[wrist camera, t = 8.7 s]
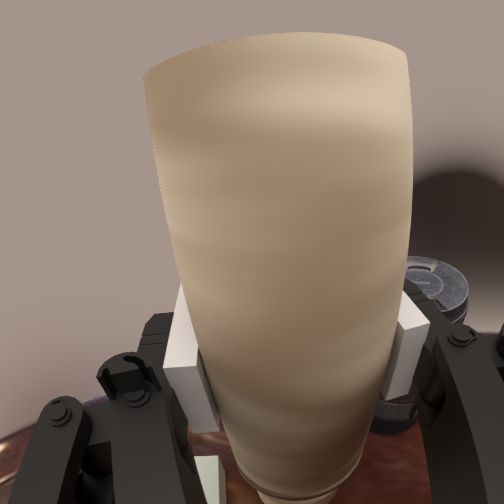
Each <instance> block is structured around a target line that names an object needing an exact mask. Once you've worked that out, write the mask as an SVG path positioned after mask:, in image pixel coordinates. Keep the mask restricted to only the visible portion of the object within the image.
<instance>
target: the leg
mask: <svg viewBox="0 0 504 504" xmlns="http://www.w3.org/2000/svg"><path fill="white" fill-rule="evenodd" d="M143 79H144V87H145V94H146V102H147V110H148V117H149V124H150V130H151V137H152V143H153V149H154V155H155V161H156V167H157V173H158V178H159V183H160V189H161V194H162V199H163V204H164V209H165V214H166V219H167V223H168V228H169V233H170V237H171V242H172V246H173V251H174V255H175V259H176V264H177V268H178V272H179V276H180V280H181V284H182V288H183V292H184V296H185V300H186V304H187V307H188V311H189V315H190V319H191V322H192V326H193V329H194V333H195V337H196V340H197V344H198V347H199V350H200V354H201V357H202V361H203V364H204V367H205V370H206V374H207V377H208V380H209V383H210V386H211V390H212V393H213V396H214V399H215V402H216V405H217V408H218V411H219V414H220V417H221V420H222V423H223V426H224V428H225V431H226V434H227V437H228V440H229V442H230V445H231V448H232V452H233V457H234V460H235V463H236V465H237V468H238V470H239V472H240V474H241V475H242V476H243V478H244V479H245V480H246V481H247V482H248V483H249V484H250V485H251V486H252V487H253V488H255V489H256V490H257V492H258V494H259V496H260V498H261V500H262V501H263V502H264V503H265V504H328V503H329V502H330V501H331V500H332V499H333V497H334V496H335V494H336V492H337V490H338V487H339V486H341V485H342V484H343V483H344V482H345V481H346V480H348V479H349V477H350V476H351V475H352V474H353V472H354V471H355V469H356V467H357V465H358V463H359V460H360V458H361V455H362V452H363V448H364V443H365V440H366V437H367V434H368V431H369V428H370V425H371V422H372V419H373V416H374V413H375V410H376V406H377V403H378V400H379V396H380V393H381V389H382V385H383V382H384V378H385V374H386V370H387V366H388V362H389V358H390V354H391V349H392V345H393V340H394V336H395V331H396V326H397V321H398V315H399V310H400V304H401V298H402V292H403V285H404V278H405V271H406V263H407V254H408V245H409V235H410V223H411V208H412V187H413V127H412V107H411V93H410V82H409V72H408V63H407V56H406V54H405V53H404V52H403V51H401V50H399V49H398V48H396V47H393V46H391V45H388V44H385V43H382V42H379V41H376V40H371V39H367V38H362V37H357V36H350V35H342V34H333V33H313V32H296V33H275V34H264V35H255V36H248V37H243V38H236V39H231V40H226V41H221V42H217V43H213V44H209V45H205V46H202V47H198V48H195V49H192V50H189V51H186V52H183V53H181V54H178V55H176V56H174V57H171V58H169V59H167V60H165V61H163V62H161V63H159V64H157V65H156V66H154V67H153V68H151V69H150V70H149V71H148V72H147V73H146V74H145V75H144V78H143Z"/></svg>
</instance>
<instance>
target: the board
mask: <svg viewBox="0 0 504 504" xmlns="http://www.w3.org/2000/svg"><path fill="white" fill-rule="evenodd" d="M194 458H195V462H196V466H197V470H198V473H199V477H200V480H201V484H202V487H203V490H204V494H205V497H206V500H207V503H208V504H227V502H226V480H225V471H224V468H223V466H222V464H221V462H220V459H219V457H218V456H194Z"/></svg>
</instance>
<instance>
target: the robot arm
mask: <svg viewBox="0 0 504 504" xmlns="http://www.w3.org/2000/svg"><path fill="white" fill-rule="evenodd" d="M96 378H97V379H98V381H99V383H100V384H101V386H102V387H103V389H104V391H105V393H106V394H107V396H108V397H109V399H110V400H108V401H105V402H102V403H98V404H93V405H89V406H85V407H83V406H82V404H81V403H80V402H79V401H78V400H77V399H76V398H73V397H70V396H63V397H58V398H56V399H53V400H52V401H50V402H49V403H48V404H47V405H46V406H45V407H44V409H43V410H42V412H41V414H40V416H39V418H38V421H37V423H36V426H35V428H34V430H33V433H32V435H31V438H30V441H29V443H28V446H27V448H26V451H25V454H24V456H23V459H22V462H21V465H20V468H19V471H18V474H17V477H16V480H15V483H14V486H13V489H12V492H11V496H10V499H9V502H8V504H208V503H207V500H206V497H205V494H204V490H203V487H202V484H201V480H200V477H199V473H198V470H197V466H196V462H195V458H194V455H193V451H192V447H191V445H190V443H189V441H188V439H187V430H188V425H189V427H190V429H191V431H192V433H202V432H218V431H219V411H218V408H217V405H216V402H215V399H214V396H213V393H212V390H211V386H210V383H209V380H208V377H207V374H206V370H205V367H204V364H203V361H202V357H201V354H200V350H199V347H198V344H197V340H196V337H195V333H194V329H193V326H192V322H191V319H190V315H189V311H188V307H187V304H186V300H185V296H184V292H183V288H182V284H181V285H180V290H179V294H178V298H177V302H176V307H175V311H174V312H169V313H160V314H154V315H153V316H152V317H151V318H150V320H149V321H148V322H147V323H146V324H145V327H144V330H143V333H142V338H141V340H140V343H139V347H138V350H137V353H136V352H126V353H121V354H118V355H116V356H113V357H111V358H110V359H108V360H107V361H105V362H104V364H103V365H102V366H101V367H100V368H99V370H98V373H97V376H96ZM412 381H413V382H414V384H415V386H416V387H417V389H418V392H417V395H416V397H415V400H414V402H413V405H412V407H411V409H410V412H409V418H412V417H413V415H414V413H415V411H416V409H417V413H418V415H417V417H418V418H419V422H420V427H421V432H422V437H423V443H424V448H425V454H426V459H427V466H428V472H429V479H430V486H431V494H432V503H433V504H504V324H503V326H502V328H501V330H500V333H499V335H489V336H479V334H478V333H477V332H476V331H475V330H474V329H472V328H471V327H469V326H467V325H464V324H461V323H451V322H450V321H449V320H448V319H447V318H446V317H445V315H444V314H443V313H442V312H441V311H440V310H439V309H438V308H437V307H436V305H435V304H434V303H433V302H432V301H431V300H429V298H428V297H427V296H426V295H425V294H424V293H423V291H422V290H421V289H420V288H419V287H418V286H417V285H416V284H415V283H413V282H412V281H410V280H408V279H406V278H404V285H403V292H402V298H401V304H400V310H399V315H398V321H397V326H396V331H395V336H394V340H393V345H392V349H391V354H390V358H389V362H388V366H387V370H386V374H385V378H384V382H383V385H382V389H381V393H382V395H383V397H384V399H385V401H387V400H390V399H393V398H396V397H400V396H403V395H406V394H408V392H409V390H410V387H411V384H412Z"/></svg>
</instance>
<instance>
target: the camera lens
mask: <svg viewBox="0 0 504 504" xmlns="http://www.w3.org/2000/svg"><path fill="white" fill-rule="evenodd" d="M405 278H406V279H408V280H410V281H412V282H413V283H415V284H416V285H417V286H418V287H419V288H420V289H421V290H422V291H423V293H424V294H425V295H426V296H427V297H428V298H429V300H431V301H432V302H433V303H434V304H435V305H436V307H437V308H438V309H439V310H440V311H441V312H442V313H443V314H444V315H445V317H446V318H447V319H448V320H449V321H450V322H451V323H461V324H463V322H464V318H465V316H466V313H467V310H468V293H469V287H468V283H467V281H466V279H465V278H464V276H463V275H462V274H461V273H460V272H459V271H458V270H457V269H455V268H454V267H452V266H450V265H448V264H446V263H444V262H441V261H437V260H436V259H432V258H425V257H417V256H407V263H406V271H405ZM417 392H418V389H417V387H416V386H415V384H414V382H413V381H412V384H411V387H410V390H409V392H408V394H406V395H403V396H400V397H396V398H393V399H390V400H387V401H385V399H384V397H383V395H382V393H380V396H379V400H378V403H377V406H376V410H375V413H374V416H373V419H372V422H371V425H370V428H369V429H370V430H372V431H374V432H377V433H381V434H393V433H398V432H400V431H403V430H405V429H406V428H408V427H409V426H410V425H411V424H412V423H413V422H415V421H416V420H417V419H418V417H417V415H418V413H417V409H416V411H415V413H414V415H413V417H412V418H409V412H410V409H411V407H412V405H413V402H414V400H415V397H416V395H417Z"/></svg>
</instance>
